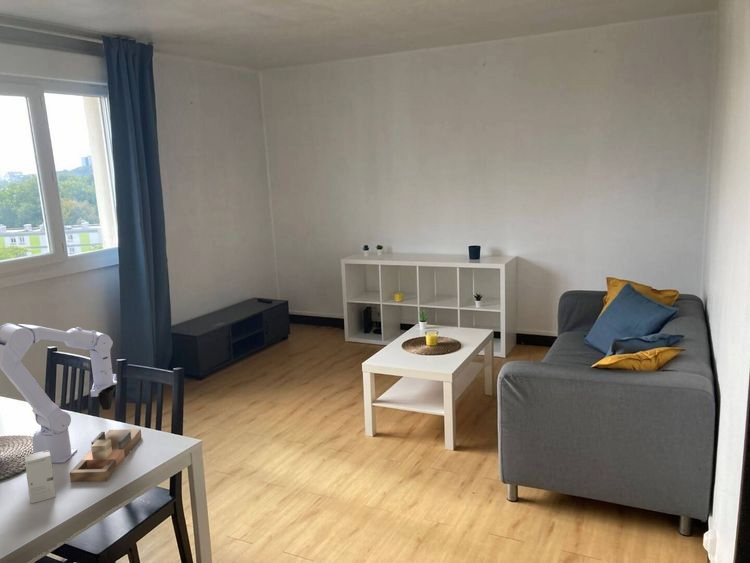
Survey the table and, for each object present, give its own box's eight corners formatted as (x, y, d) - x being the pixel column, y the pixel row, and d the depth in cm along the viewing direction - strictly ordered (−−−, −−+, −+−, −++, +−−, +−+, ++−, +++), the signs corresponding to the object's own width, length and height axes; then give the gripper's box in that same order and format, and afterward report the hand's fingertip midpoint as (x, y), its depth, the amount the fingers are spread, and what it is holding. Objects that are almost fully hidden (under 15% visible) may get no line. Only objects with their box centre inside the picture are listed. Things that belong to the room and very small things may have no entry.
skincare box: (30, 504, 156) (24, 462, 154) (29, 496, 160) (22, 455, 158) (56, 496, 160) (50, 455, 157) (55, 489, 163) (49, 448, 161)
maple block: (92, 458, 174) (91, 446, 173) (98, 452, 177) (97, 439, 177) (106, 458, 174) (105, 445, 173) (112, 451, 178) (110, 439, 177)
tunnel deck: (70, 482, 167) (68, 464, 166) (110, 438, 193) (108, 422, 192) (106, 481, 167) (104, 463, 166) (141, 437, 193) (139, 421, 192)
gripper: (104, 377, 183) (109, 418, 186) (123, 361, 197) (128, 399, 200) (81, 377, 183) (87, 418, 186) (102, 361, 197) (107, 400, 200)
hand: (106, 408), depth 193 cm, fingers closed
